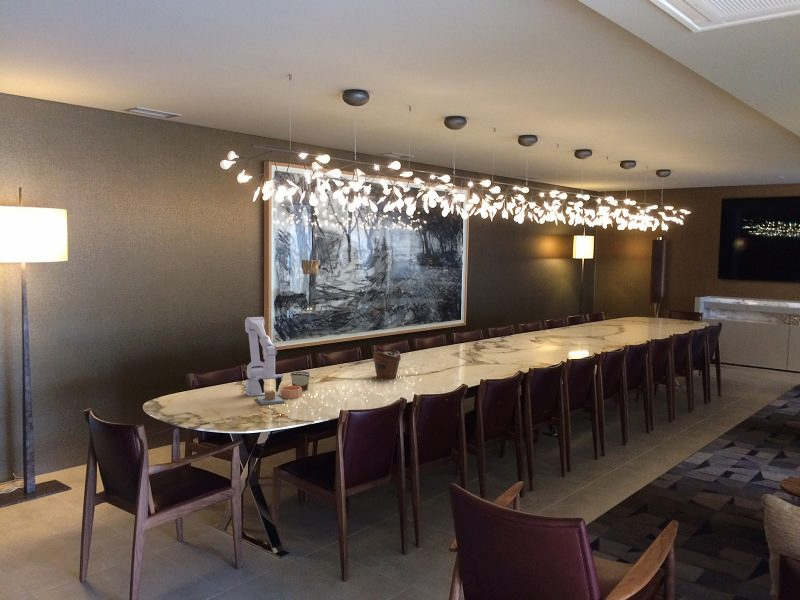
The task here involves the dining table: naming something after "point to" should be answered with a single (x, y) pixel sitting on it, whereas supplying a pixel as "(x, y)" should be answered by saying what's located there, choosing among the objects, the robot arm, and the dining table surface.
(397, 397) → the dining table surface
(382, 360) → the brown pot
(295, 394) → the bowl
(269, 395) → the lid
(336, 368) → the dining table surface
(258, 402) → the mat
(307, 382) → the food container
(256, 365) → the robot arm
